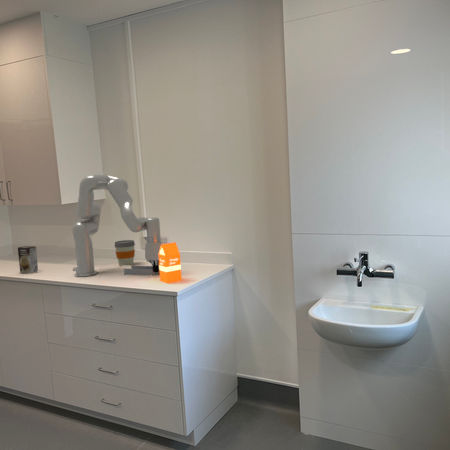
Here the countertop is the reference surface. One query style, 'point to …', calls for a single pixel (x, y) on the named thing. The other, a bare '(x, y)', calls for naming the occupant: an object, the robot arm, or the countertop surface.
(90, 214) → the robot arm
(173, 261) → the orange juice
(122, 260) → the reusable coffee cup
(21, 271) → the coffee box
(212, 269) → the countertop surface
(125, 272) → the chute
